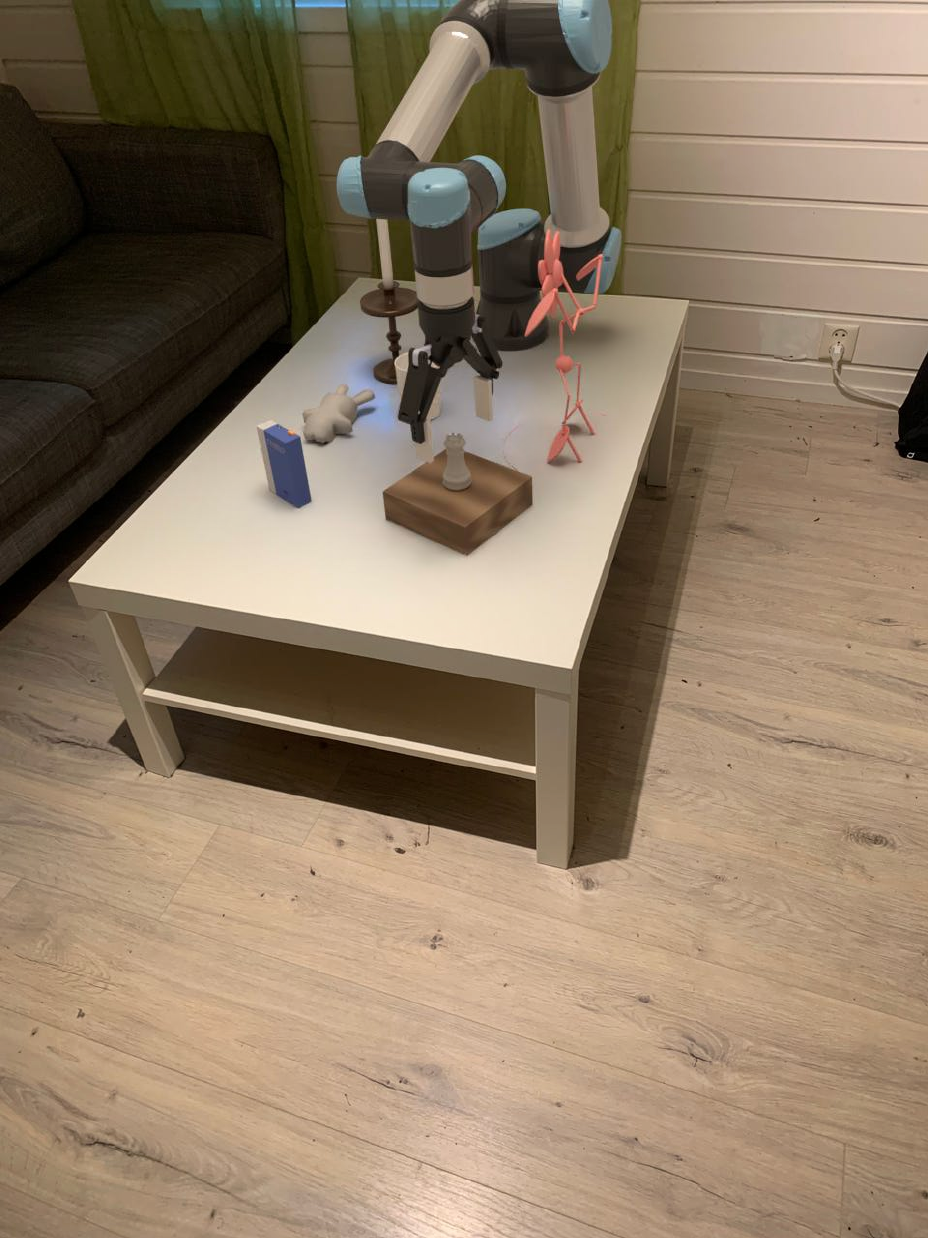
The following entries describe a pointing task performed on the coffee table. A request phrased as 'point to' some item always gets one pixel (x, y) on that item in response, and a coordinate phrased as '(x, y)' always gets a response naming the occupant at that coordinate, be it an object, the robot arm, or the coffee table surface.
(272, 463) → the walkman
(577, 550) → the coffee table surface
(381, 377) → the candlestick
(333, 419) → the bunny figurine
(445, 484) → the rook chess piece
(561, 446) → the figurine
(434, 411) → the white cup
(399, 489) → the walnut base
